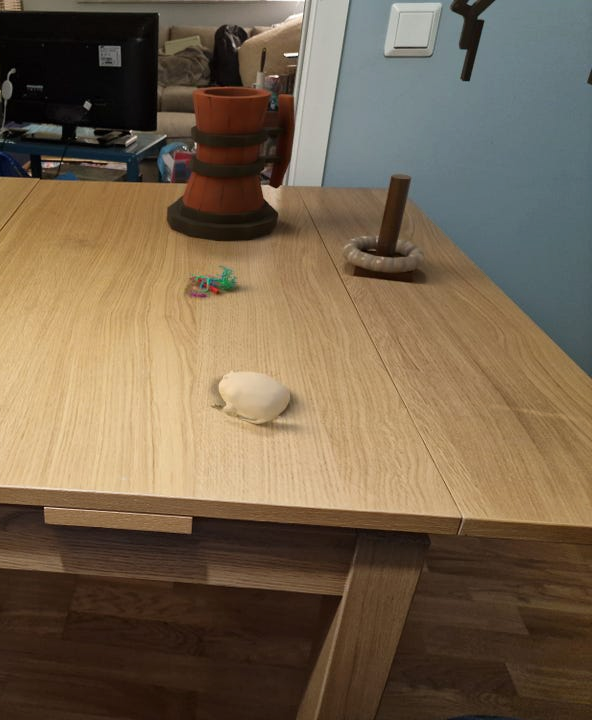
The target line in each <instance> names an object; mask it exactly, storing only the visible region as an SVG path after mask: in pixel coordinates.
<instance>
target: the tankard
mask: <svg viewBox="0 0 592 720" xmlns="http://www.w3.org/2000/svg"><path fill="white" fill-rule="evenodd" d="M271 97H272V92H270V91H268V90H267V89H260V88H253V87H239V86H222V87H221V86H216V87H215V86H213V87H204V88H203V87H202V88H198V89H195V90H193V91H192V98H193V99H192V100H193V106H194V109H193V110H194V116H195V125H194V126H192V127H190V136H191V137H190V138H191V140H192V141H193V142H194V143H195V144H196V149H195V153H194V154H193V155H190V157H189V162H188V168H189V169H190V171H191V173H190V176H189V178H188V182H187V183H186V187H185V190H184V193H183V195H181V196H180V197H179V198H178V199H177V200H176V201H173V203H172V204H170V205H169V206H168V207H167V208H166V221H167V223H168V225H169V227H170V229H171V230H173V231H176V232H178V233H180V234H182V235H185V236H188V237H191V238H196V239H197V238H198V239H203V240H210V241H217V242H224V241H225V242H226V241H250V240H253V239H257V238H262V237H265V236H268V235H271V234H272V233H273V231H274V230H275V229H276V227H277V226H278V221H279V212H278V211H277V210H276V209H275V208H274V207H273V205H271V204H270V203H269V202H268V201H267V200H266V199H265V197H264V192H263V188H262V182H261V179H260V178H261V177H260V174H261V173H262V172H263V171H265V167H266V164H272V169H271V172H270V173H271V174H270V179H269V182H268V186H269V187H272V188H273V189H275V190H276V189H278V188H280V187H281V186H282V183H283V181H284V178H285V175H286V173H287V170H288V169H289V165H290V163H291V160H292V153H293V146H294V138H295V129H296V120H295V118H296V115H295V112H296V111H295V97H294V95H291V94H287V93H286V94H283V93H280V94H278V96H277V101H278V102H277V105H278V106H277V111H278V112H277V125H278V126H267V127H263V126H264V123H265V118H266V114H267V111H268V108H269V104H270V101H271ZM276 135H277V136H276ZM269 136H276V144H275V154H268V155H259V147H260V145H262V144H264V143H266V142H268V139H269Z"/></svg>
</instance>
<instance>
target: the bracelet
mask: <svg viewBox="0 0 592 720" xmlns="http://www.w3.org/2000/svg"><path fill="white" fill-rule="evenodd" d="M378 238H379V235H362V236H356V237H354V238H351V239H349V240H346V241H345V242H344V243H343V244H342V254H341V255H342V257H343V258H344V259H345V260H346V261H348V262H349V263H350V264H352V265H353V266H354V265H355V266H358V267H361V268H365V269H368V270H371V271H378V272H387V273H399V272H410V271H412V270H413V271H414V270H417V269H418V268H421V267H422V266H423V265H424V264H425V262H426V257H425V253H424V250H423V248H421V247H420V246H418V245H416V244H414V243H412V242H411V241H409V240H404V239H401V238H398V242H397V246H396V251H395V253H397V254H401V255H403V256H405V257H398V258H390V257H380V256H374V255H371V254H368V253H364V252H362V251H361V250H372V251H376V248H377V243H378Z"/></svg>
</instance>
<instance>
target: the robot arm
mask: <svg viewBox="0 0 592 720" xmlns="http://www.w3.org/2000/svg"><path fill="white" fill-rule="evenodd" d="M469 1H470V0H453V1H452V2H451V4H450V5H449V9H450V11H451V12H452V13H455V14H457V15H459V16H461V17H462V18H463V23H462V26H461V27H462V28H461V32H460V35H459V39H458V40H459V41H458V49H459V50H460V51H462V50H465V51H466V53H465V55H464V56H465V57H464V61H463V65H462V68H461V73H460V78H459V79H460V80H461V81H462V82H471V77H472V74H473V69H474V65H475V61H476V56H477V53H478V49H479V46H480V41H481V37H482V34H483V33H482V32H483V29H484V25H485V19H482V18H479V16H481V15H482V14H483V13H484V12H485V11H486V10H487V9H488V8H490V6H491V5H492V4H494V2H496V0H475V1H474V2H473V3H471V4H468V3H469ZM586 84H588V85H591V86H592V68H590V72H589V75H588V78H587V81H586Z"/></svg>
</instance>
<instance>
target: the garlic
mask: <svg viewBox="0 0 592 720" xmlns="http://www.w3.org/2000/svg"><path fill="white" fill-rule="evenodd" d="M218 392H219V394H220V397H221V398H222V400H223V401H224V402H225V405H224V406H222V405H221V404H219V405H217V404H215V403H214V405H210V407H211V408H214V409H215V410H218V411H220V412H222V413H232V414H235V415H236V417H238V419H239V420H241V421H244V422H248V423H250V424H251V423H252V424H254V425H255V424H256V425H257V424H258V425H261V424H265V423H268V422H270V421H272V420H275V419H276V418H277V417H279V416H280V414H282V413H283V412H284V411H285V409H286V408H287V406H288V405H289V403H290V399H291V394H290V391H289V389H288V387H287V386H285V384H283V383H282V382H280V381H278V380H277V379H275V378H273V377H272V376H270V375H268V374H266V373H261V372H257V371H235V370H231V371H230V372H228V373H227V374H225V375H223V376H222V379H221V380H220V381H219V382H218Z"/></svg>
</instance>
